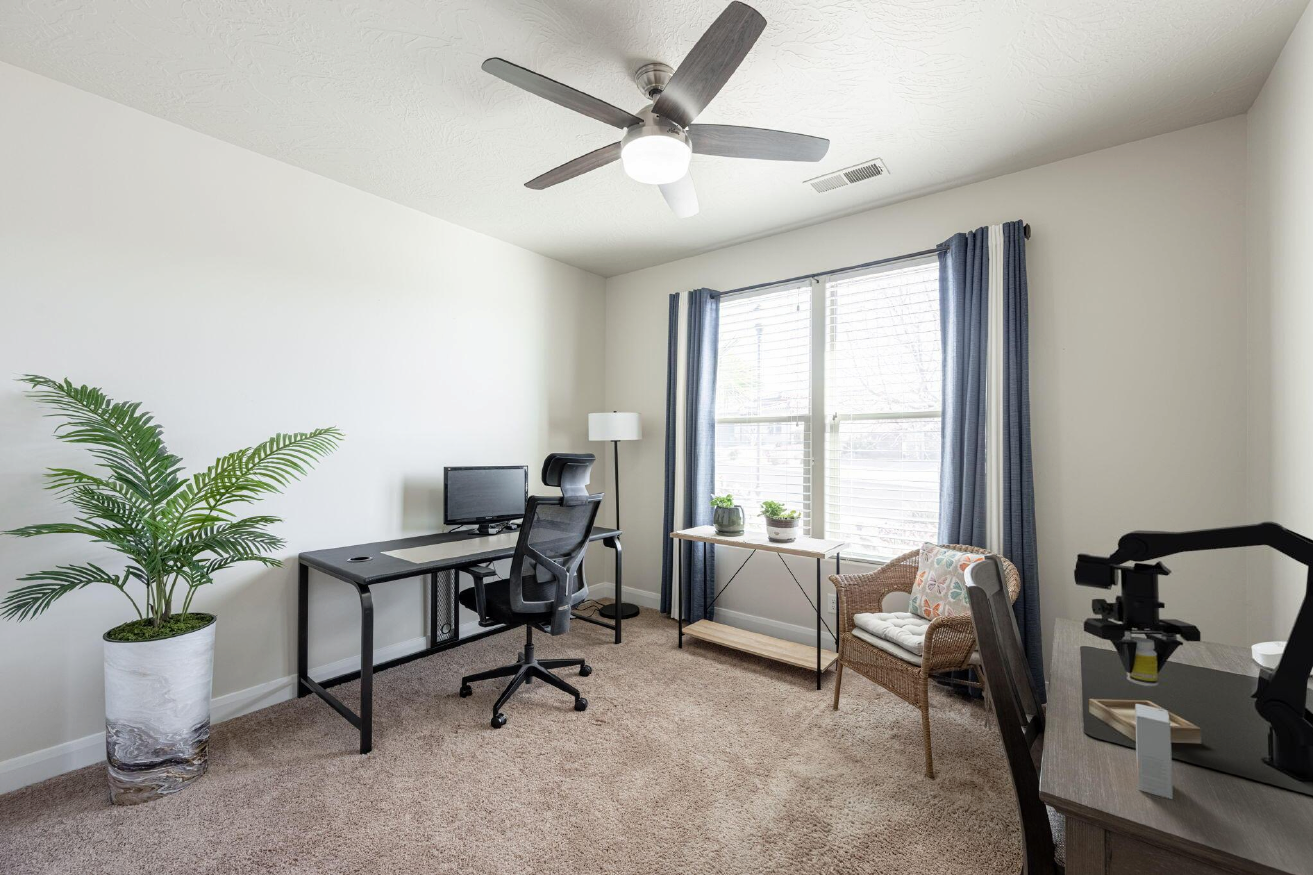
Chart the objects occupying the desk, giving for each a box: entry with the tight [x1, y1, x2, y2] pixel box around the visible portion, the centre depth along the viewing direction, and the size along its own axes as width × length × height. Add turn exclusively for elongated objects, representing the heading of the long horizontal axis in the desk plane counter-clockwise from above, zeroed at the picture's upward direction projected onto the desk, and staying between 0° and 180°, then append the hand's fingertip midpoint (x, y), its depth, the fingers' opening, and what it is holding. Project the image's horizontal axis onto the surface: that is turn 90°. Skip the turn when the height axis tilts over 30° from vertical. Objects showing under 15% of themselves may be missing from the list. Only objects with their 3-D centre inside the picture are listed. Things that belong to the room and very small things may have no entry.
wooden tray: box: [1088, 698, 1202, 744], centre depth 112 cm, size 12×12×3 cm
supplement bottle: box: [1126, 636, 1159, 687], centre depth 112 cm, size 5×5×8 cm
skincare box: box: [1135, 704, 1174, 800], centre depth 91 cm, size 6×4×12 cm
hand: (1141, 672), depth 112 cm, fingers closed on supplement bottle, 5 cm apart
